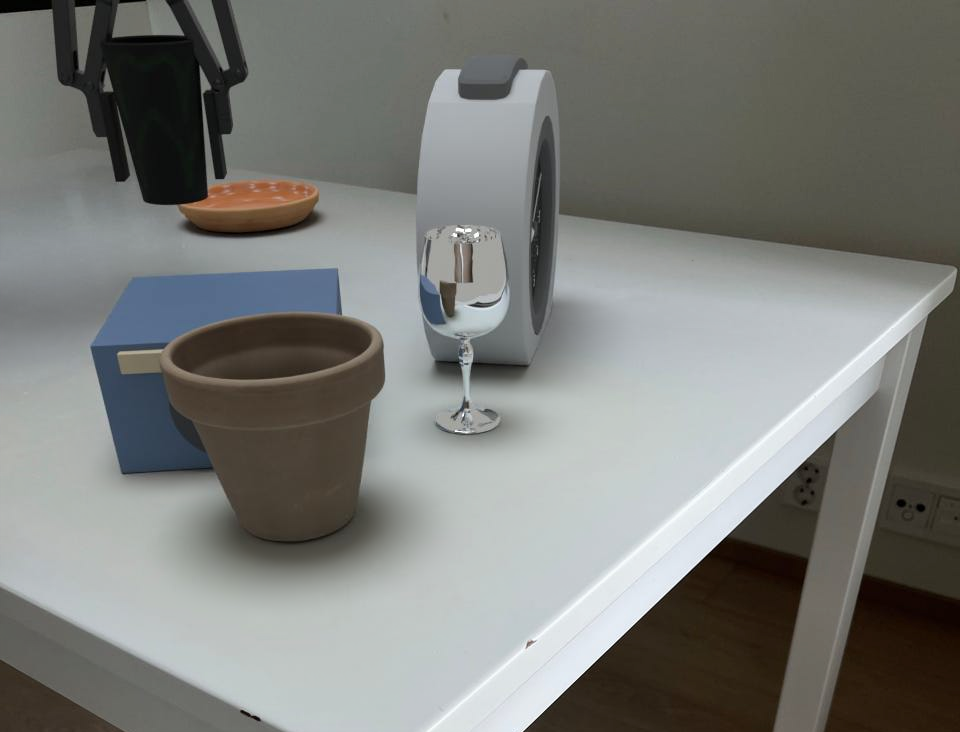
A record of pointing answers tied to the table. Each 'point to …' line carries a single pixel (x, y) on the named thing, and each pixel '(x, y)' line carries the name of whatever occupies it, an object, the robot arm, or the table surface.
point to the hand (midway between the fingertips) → (172, 177)
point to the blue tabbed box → (162, 318)
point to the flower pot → (281, 413)
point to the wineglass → (464, 304)
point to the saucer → (252, 205)
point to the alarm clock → (496, 188)
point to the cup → (160, 114)
